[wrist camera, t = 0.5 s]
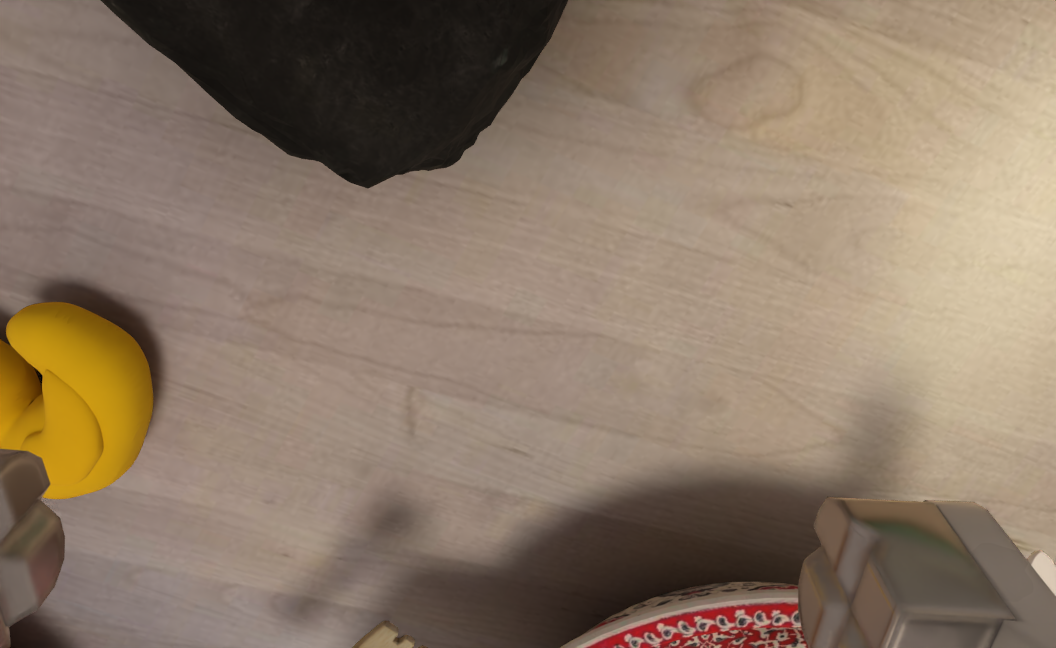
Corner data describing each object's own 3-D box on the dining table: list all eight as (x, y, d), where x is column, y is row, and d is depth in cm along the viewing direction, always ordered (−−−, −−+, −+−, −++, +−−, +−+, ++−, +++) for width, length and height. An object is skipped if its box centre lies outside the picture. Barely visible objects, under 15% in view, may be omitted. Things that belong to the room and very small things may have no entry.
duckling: (72, 578, 35) (-154, 489, 33) (132, 503, 40) (-62, 422, 38) (140, 389, 30) (-117, 276, 29) (198, 331, 35) (-19, 231, 34)
